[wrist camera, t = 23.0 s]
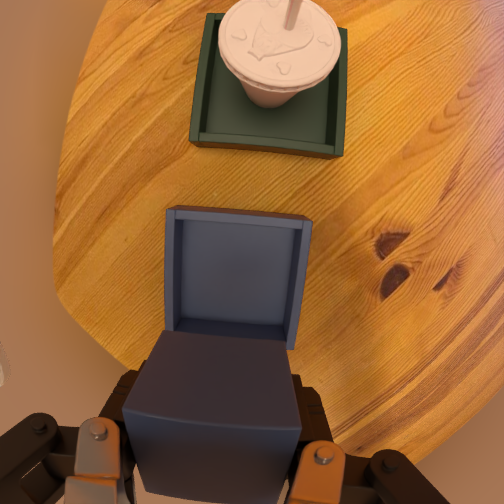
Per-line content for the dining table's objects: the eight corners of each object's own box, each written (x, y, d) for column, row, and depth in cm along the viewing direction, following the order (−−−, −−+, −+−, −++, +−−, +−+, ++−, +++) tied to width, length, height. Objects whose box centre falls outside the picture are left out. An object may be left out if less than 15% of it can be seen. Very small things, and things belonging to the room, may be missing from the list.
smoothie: (323, 88, 21) (399, 4, 8) (271, 140, 22) (304, 85, 9) (265, 41, 20) (281, -73, 7) (211, 90, 21) (171, -6, 8)
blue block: (168, 413, 11) (145, 492, 7) (162, 328, 10) (119, 408, 6) (269, 423, 12) (276, 506, 7) (285, 339, 11) (303, 428, 6)
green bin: (196, 147, 23) (188, 141, 19) (211, 31, 20) (206, 12, 17) (330, 159, 23) (343, 156, 20) (336, 45, 21) (347, 28, 17)
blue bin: (174, 320, 26) (165, 339, 23) (177, 205, 24) (165, 208, 20) (288, 330, 27) (293, 350, 23) (304, 215, 24) (312, 220, 21)
